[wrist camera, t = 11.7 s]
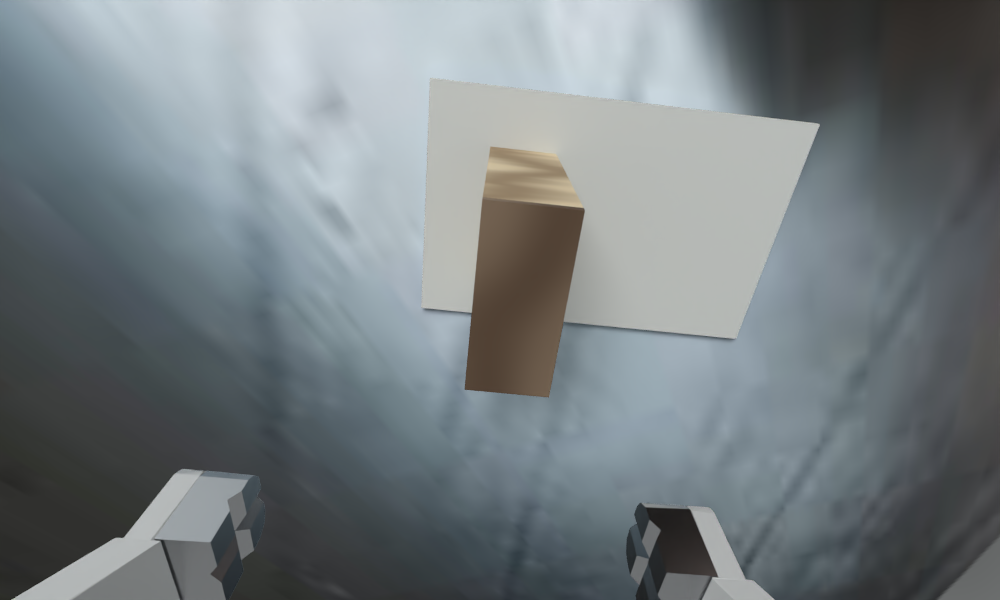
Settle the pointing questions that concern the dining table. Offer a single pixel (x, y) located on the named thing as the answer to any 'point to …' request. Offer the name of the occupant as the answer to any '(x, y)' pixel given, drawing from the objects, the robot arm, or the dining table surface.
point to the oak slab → (522, 272)
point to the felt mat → (619, 200)
